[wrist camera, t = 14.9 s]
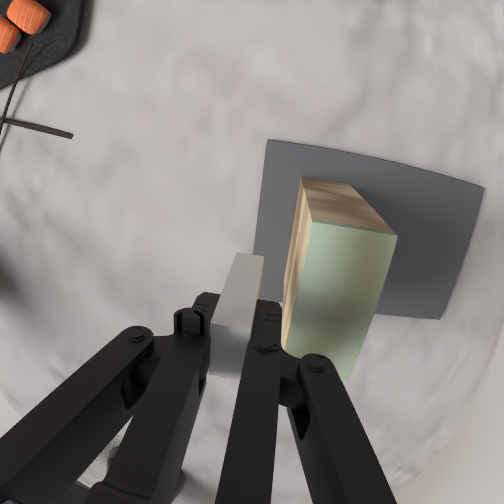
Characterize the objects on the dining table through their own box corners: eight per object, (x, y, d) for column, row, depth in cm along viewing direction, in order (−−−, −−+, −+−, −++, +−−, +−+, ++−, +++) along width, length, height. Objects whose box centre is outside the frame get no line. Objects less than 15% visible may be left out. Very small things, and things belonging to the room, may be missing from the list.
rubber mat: (248, 293, 30) (247, 297, 29) (267, 139, 24) (267, 139, 24) (438, 316, 29) (440, 319, 28) (480, 186, 23) (483, 188, 22)
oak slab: (284, 278, 28) (279, 375, 17) (300, 176, 24) (312, 222, 13) (328, 284, 28) (347, 381, 17) (349, 184, 24) (397, 236, 13)
